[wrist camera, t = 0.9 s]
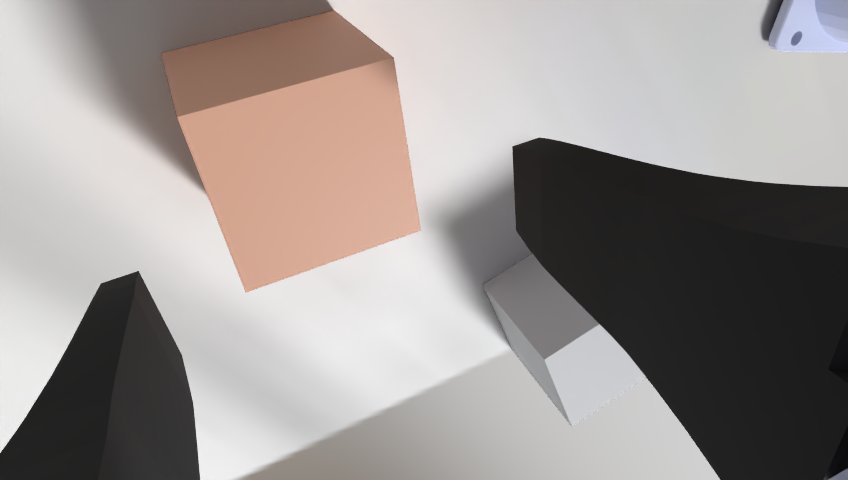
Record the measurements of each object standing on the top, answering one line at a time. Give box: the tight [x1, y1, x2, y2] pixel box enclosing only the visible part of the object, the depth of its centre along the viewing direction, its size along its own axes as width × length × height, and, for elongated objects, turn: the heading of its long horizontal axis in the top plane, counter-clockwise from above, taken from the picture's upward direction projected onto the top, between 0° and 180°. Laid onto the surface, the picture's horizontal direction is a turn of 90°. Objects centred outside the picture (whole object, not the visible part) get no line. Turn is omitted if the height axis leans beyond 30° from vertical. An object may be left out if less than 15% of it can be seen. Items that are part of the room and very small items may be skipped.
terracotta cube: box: [161, 10, 421, 292], centre depth 16 cm, size 4×4×4 cm
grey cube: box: [483, 253, 646, 427], centre depth 24 cm, size 4×4×4 cm
